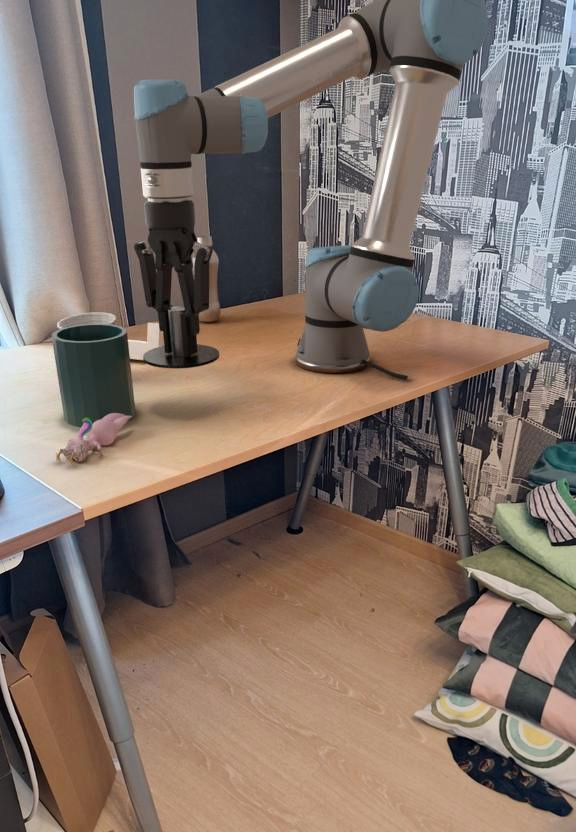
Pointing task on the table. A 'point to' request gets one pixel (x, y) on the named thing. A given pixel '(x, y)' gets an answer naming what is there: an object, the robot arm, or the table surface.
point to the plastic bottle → (210, 284)
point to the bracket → (146, 342)
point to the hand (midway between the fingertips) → (181, 352)
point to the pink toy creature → (93, 436)
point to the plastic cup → (87, 319)
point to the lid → (179, 347)
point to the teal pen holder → (93, 372)
